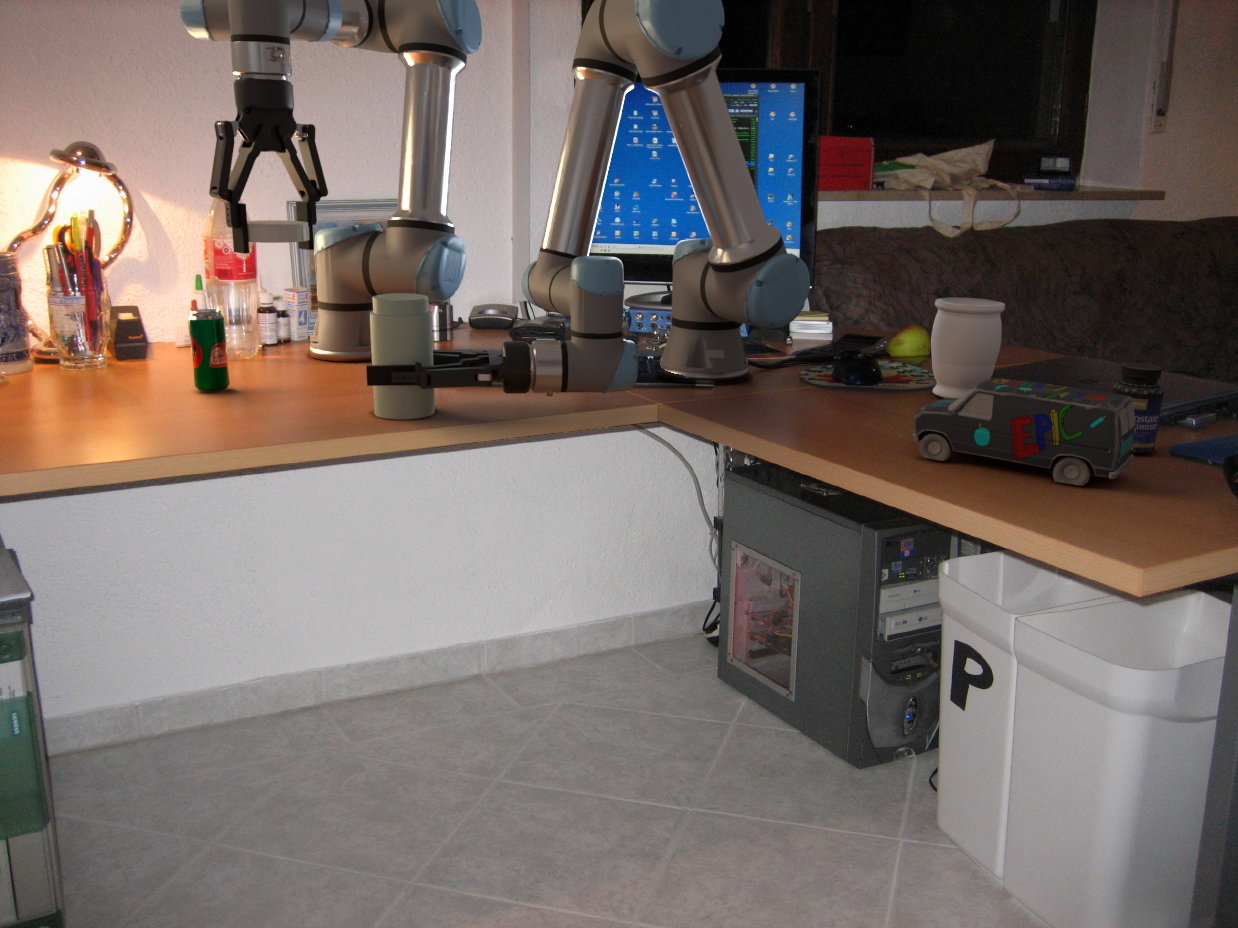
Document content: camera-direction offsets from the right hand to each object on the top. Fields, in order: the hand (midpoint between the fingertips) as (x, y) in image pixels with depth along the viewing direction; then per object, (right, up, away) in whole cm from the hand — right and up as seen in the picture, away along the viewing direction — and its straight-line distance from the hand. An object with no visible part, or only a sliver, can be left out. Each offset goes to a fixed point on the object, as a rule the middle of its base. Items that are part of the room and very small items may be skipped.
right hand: (369, 369), depth 151 cm
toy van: (+85, -14, -18) cm, 88 cm away
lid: (-12, +20, -4) cm, 23 cm away
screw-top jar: (+4, -6, +3) cm, 8 cm away
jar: (+89, -3, +20) cm, 92 cm away
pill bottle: (+102, -11, -10) cm, 104 cm away
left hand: (-13, +16, -3) cm, 21 cm away
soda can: (-27, -2, +14) cm, 31 cm away
